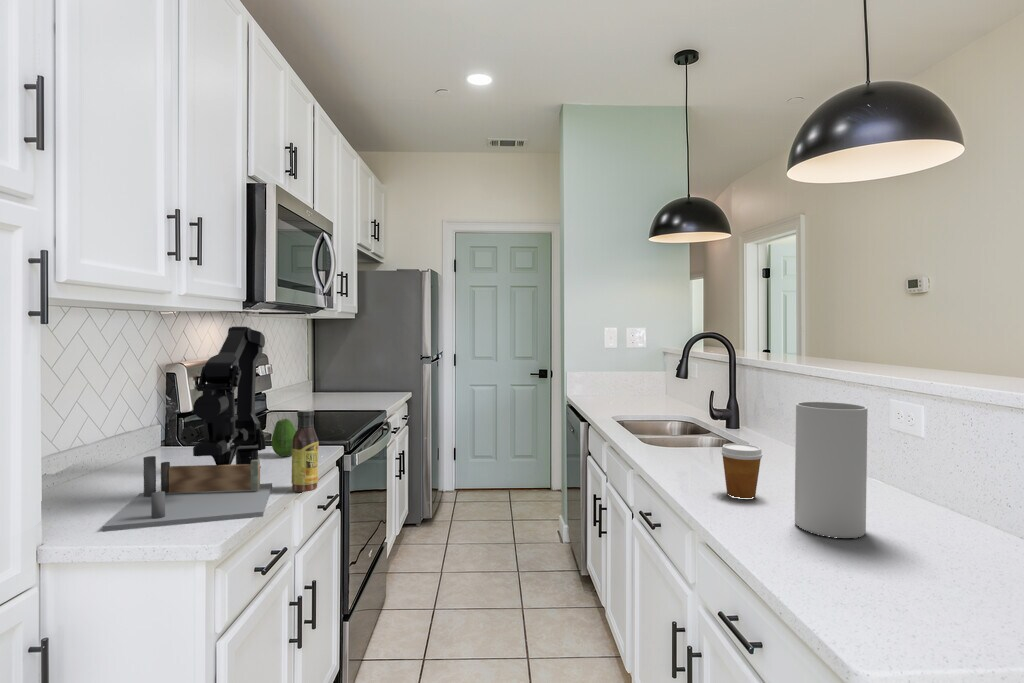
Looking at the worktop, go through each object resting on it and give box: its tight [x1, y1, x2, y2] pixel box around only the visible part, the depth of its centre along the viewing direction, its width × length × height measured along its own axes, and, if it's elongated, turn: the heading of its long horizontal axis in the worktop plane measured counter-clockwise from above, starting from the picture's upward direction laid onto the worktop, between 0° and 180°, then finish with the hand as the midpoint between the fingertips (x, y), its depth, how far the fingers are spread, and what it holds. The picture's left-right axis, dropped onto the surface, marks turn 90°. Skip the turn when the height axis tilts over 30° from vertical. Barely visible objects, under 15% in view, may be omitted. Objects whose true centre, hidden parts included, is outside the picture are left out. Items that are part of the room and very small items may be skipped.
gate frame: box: [102, 455, 273, 532], centre depth 127 cm, size 24×29×10 cm
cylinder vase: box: [794, 401, 869, 539], centre depth 113 cm, size 12×12×25 cm
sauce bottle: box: [291, 409, 320, 493], centre depth 140 cm, size 7×6×20 cm
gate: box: [160, 459, 261, 493], centre depth 134 cm, size 22×2×7 cm, turn 97°
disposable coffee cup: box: [720, 443, 764, 498], centre depth 136 cm, size 10×10×12 cm
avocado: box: [270, 418, 297, 457], centre depth 177 cm, size 8×8×12 cm
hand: (223, 476), depth 136 cm, fingers closed
